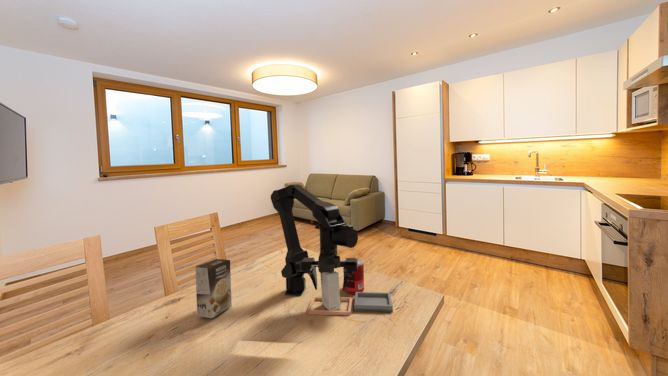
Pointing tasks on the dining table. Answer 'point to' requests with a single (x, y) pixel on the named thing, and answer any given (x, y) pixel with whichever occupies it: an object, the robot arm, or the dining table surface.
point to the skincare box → (330, 290)
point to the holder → (330, 312)
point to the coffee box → (213, 287)
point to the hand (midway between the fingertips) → (330, 289)
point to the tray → (373, 302)
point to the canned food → (355, 279)
